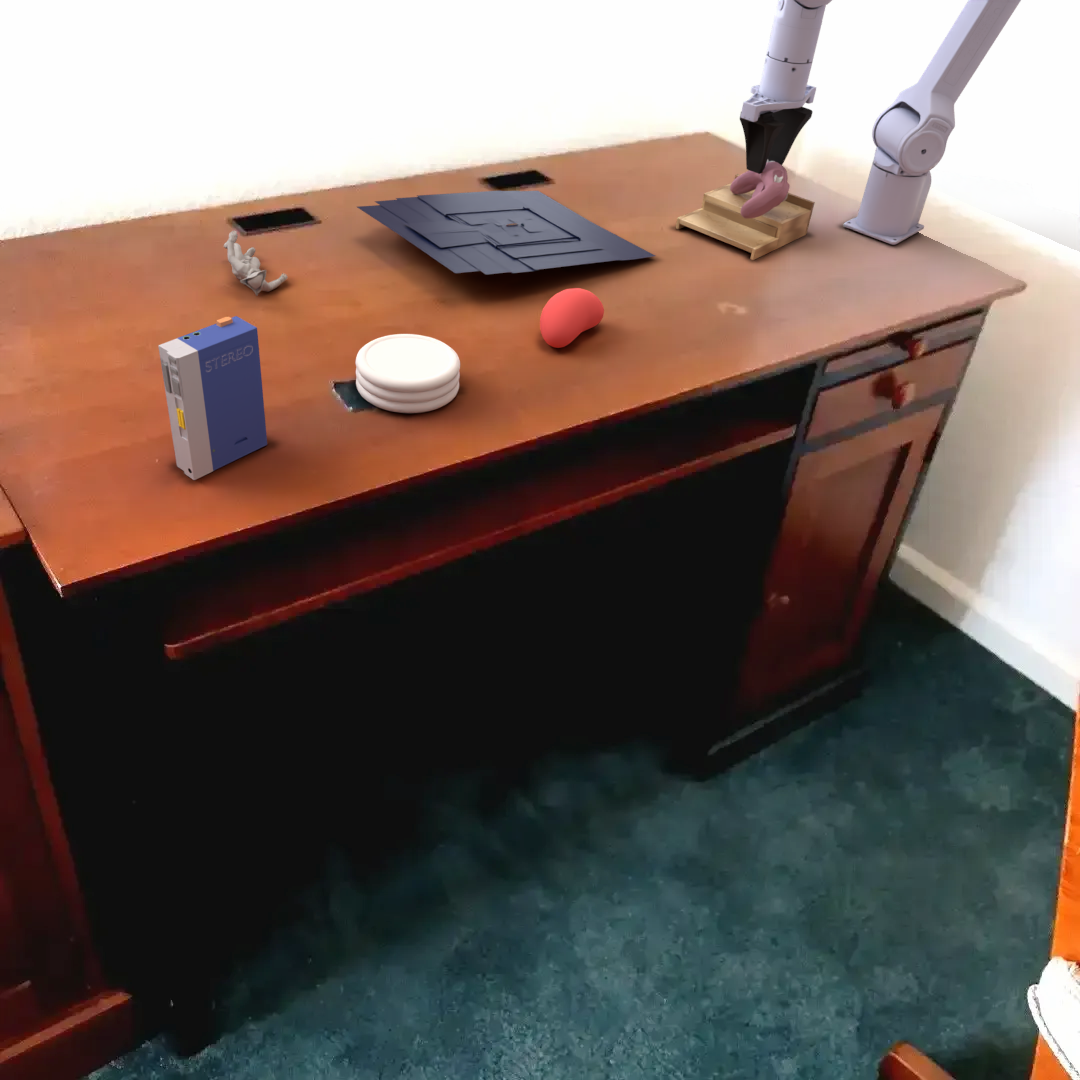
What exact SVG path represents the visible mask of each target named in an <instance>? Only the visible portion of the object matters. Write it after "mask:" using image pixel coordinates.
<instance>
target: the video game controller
mask: <svg viewBox="0 0 1080 1080" xmlns="http://www.w3.org/2000/svg"><path fill="white" fill-rule="evenodd" d="M739 175H740V176H738V177H737V178H735V177H734V178H733V181H731V182H730V183H731V186H730V190H731V192H732V193H733V194H744V193H747V192H750V191H752V190H755V191H754V193H753V195H752V198H751V199H749V200H748V201H747V202H746V203H745V204H744V205H743V206H742V208H741V212H740V213H741V215H742V217H744V218H747V219H748V218H756V217H759V216H761V215H763V214H765V213H767V212H768V211H770V210H771V209H773V208H774V207H777V206H778V205H779V204H780V203H781V202H784V201H785V200H786V199H787V196H788V193H789V191H790V184H789V182H788V178H789V177H788V172H787V169H786V168H785V167H784V165H783V164H782V165H781V164H779V163H777V162H775V161H770V162H769V160H767V163H766V166H765V168H764V170H763V172H762V173H760V174H758V173H755V172H753V171H750V170H747V171H745V172H743V173H741V174H739Z"/></svg>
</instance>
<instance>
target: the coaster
mask: <svg viewBox="0 0 1080 1080" xmlns="http://www.w3.org/2000/svg"><path fill="white" fill-rule="evenodd" d="M355 367H356V368H355V377H356V379H355V386H356V389H357V391H358V393H359V395H360V396H361V398H363V399H364V400H365V401H366V402H368V403H369V404H371V405H373V406H375V407H376V408H379V409H382V410H384V411H388V412H394V413H399V414H421V413H427V412H431V411H434V410H438V409H440V408H442V407H444V406H446V405H447V404H449V403H450V402H452V401H453V400H454V398H455V397H456V396H457V394H458V392H459V389H460V377H461V373H460V369H461V361H460V357H459V355H458V353H457V352H456V351H455V350H454V349H453V348H452V347H450V345H448V344H446V343H445V342H443V341H441V340H439V339H437V338H434V337H431V336H427V335H421V334H415V333H397V334H388V335H384V336H381V337H378V338H375V339H372V340H371V341H369V342H368V343H366V344H364V345H363V346H362V347H361V348H360V349H359V350H358V352H357V353H356V357H355Z"/></svg>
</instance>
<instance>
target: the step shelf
mask: <svg viewBox="0 0 1080 1080" xmlns="http://www.w3.org/2000/svg"><path fill="white" fill-rule="evenodd" d="M740 175H741V174H739V173H735V175H734V179H735V178H737V177H738V176H740ZM731 183H732V182H729V183H728V184H724V185H722V186H719V187H717V188H714V189H712V190H709V191H707V192H704V193H703V196H702V202H701V207H700V208H698V209H695V210H693V211H690V212H688V213H685V214H683V215H681V216H678V217H676V223H675V229H676V230H680V229H682V228H685V227H686V228H688V229H692V230H694V231H697V232H698V233H701V234H704V235H706V236H709V237H711V238H714V239H716V240H719V241H720V242H724V243H726V244H728V245H731V246H734V247H736V248H738V249H740V250H743V251H744V252H745V251H746V252H748V253H750V260H751V261H755V260H757V259H759V258H761V257H764V256H765V255H767V254H769V253H771V252H773V251H776V250H777V249H780V248H782V247H783V246H786V245H788V244H790V243H792V242H794V241H796V240H798V239H801V238H802V237H805V236H807V234H808V231H809V226H810V222H811V218H812V216H813V215H812V214H813V211H814V208H815V207H814V206H815V204H816V203H815V201H812V200H809V199H806V198H805V197H801V196H799V195H796V194H793V193H790V192H788V196H787V199H786V200H785V201H784V202H781V203H780V204H779V205H778V206H777V207H774V208H773V209H771V210H770V211H768V212H767V213H765V214H763V215H761V216H759V217H756V218H748V219H747V218H744V217H742V215H741V213H740V212H741V208H742V206H743V205H744V204H745V203H746V202H747V201H748V200H749V199H751V198H752V195H753V193H754V191H755V190H752V191H750V192H747V193H744V194H733V193H732V192H731V190H730V186H731Z"/></svg>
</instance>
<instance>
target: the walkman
mask: <svg viewBox="0 0 1080 1080" xmlns="http://www.w3.org/2000/svg"><path fill="white" fill-rule="evenodd" d="M259 346H260V344H259V334H258V327H257V326H255V325H253V324H252V323H249V322H248V321H246V320H244V319H243V318H241V317H239V316H237V315H235V316H232V317H230V316H228V315H227V316H224V317H221V318H219V319H217V320H215V323H214V324H211V325H208V326H206V327H202V328H200V329H197V330H195V331H192V332H190V333H187V334H184V335H182V336H178V337H177V338H174V339H171V340H169V341H166V342H163V343H161V344H158V345H157V347H158V351H159V352H158V354H159V359H160V365H161V372H162V379H163V385H164V391H165V392H164V393H165V398H166V405H167V412H168V417H169V424H170V431H171V438H172V444H173V449H174V457H175V463H176V467H177V468H178V469H180V470H181V471H183V474H184V475H186V476H187V477H189V479H192V480H193V481H196V480H198V479H200V478H202V477H205V476H206V475H208V474H210V473H212V472H214V471H216V470H219V469H220V468H223V467H224V466H227V465H229V464H230V463H233V462H235V461H237V460H239V459H241V458H243V457H245V456H248V455H249V454H251V453H253V452H255V451H257V450H259V449H261V448H264V447H266V446H268V436H267V426H266V424H267V423H266V415H265V414H266V412H265V401H264V391H263V389H264V388H263V380H262V379H263V378H262V368H261V355H260V347H259Z"/></svg>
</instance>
